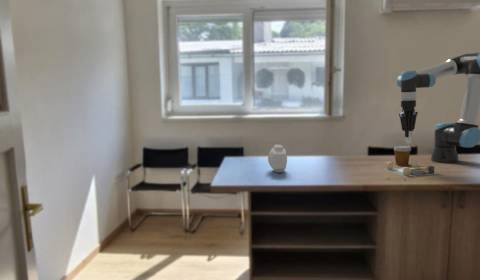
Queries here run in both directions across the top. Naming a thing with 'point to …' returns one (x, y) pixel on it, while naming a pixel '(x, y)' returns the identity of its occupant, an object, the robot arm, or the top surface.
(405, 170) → the board
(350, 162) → the top surface
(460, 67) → the robot arm
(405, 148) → the disposable coffee cup
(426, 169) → the stool leg
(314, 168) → the top surface
